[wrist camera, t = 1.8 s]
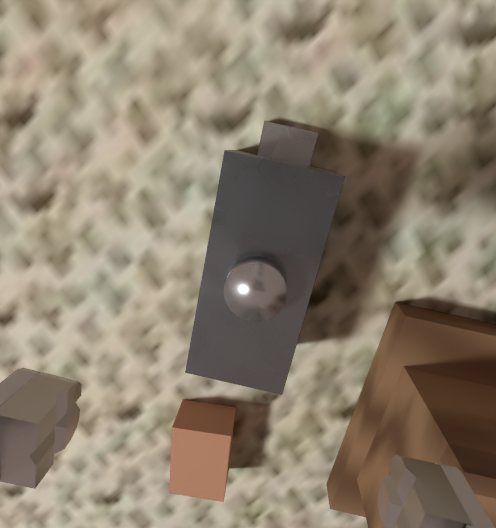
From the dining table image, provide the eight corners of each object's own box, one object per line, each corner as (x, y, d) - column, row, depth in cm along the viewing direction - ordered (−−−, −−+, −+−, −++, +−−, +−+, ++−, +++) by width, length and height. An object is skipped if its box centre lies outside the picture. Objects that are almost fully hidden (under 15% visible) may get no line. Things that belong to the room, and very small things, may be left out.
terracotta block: (183, 397, 27) (172, 427, 24) (236, 405, 26) (231, 436, 24) (180, 458, 28) (169, 493, 26) (229, 466, 28) (223, 501, 25)
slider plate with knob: (243, 117, 20) (229, 104, 14) (338, 137, 20) (362, 133, 14) (199, 351, 25) (175, 410, 19) (275, 368, 25) (274, 433, 19)
